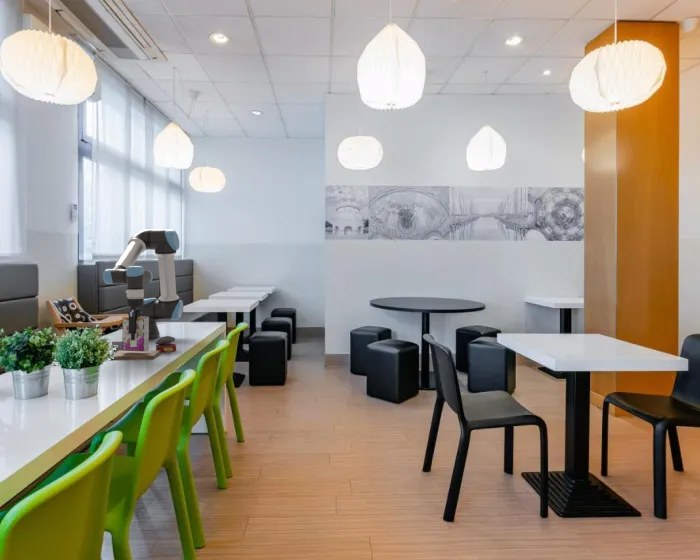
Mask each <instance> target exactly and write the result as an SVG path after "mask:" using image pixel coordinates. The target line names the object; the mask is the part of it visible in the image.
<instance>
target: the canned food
mask: <svg viewBox="0 0 700 560" xmlns="http://www.w3.org/2000/svg"><path fill="white" fill-rule="evenodd" d="M175 341H176V338H175V337H173V336H171V335H165V336H160V337H159V339H158V340H156V342H155V343H154V344H155V350H161V353H160V354H162V353H163V354H164V353H165V354H166V353H167V352H168V353H174V352H176V351H177V344H176V343H173V342H175ZM166 343H171V344H166Z"/></svg>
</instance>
